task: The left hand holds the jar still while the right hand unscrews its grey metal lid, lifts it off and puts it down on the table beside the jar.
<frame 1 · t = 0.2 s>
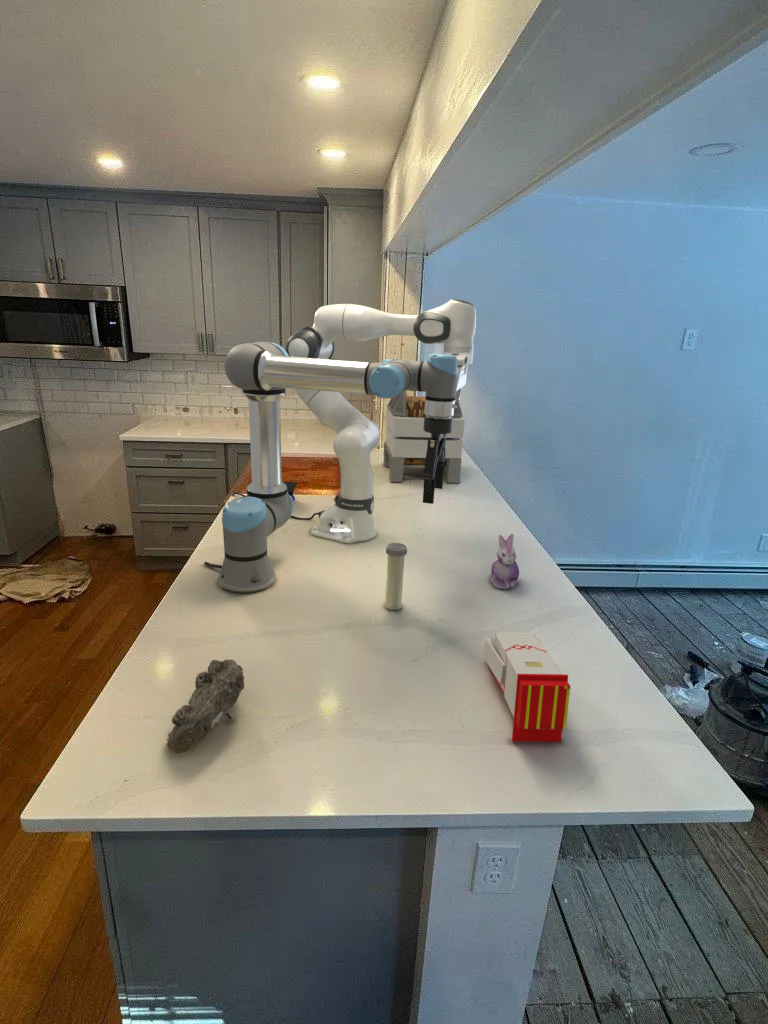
left hand: (432, 495, 152), 28 cm above the counter, tool pointing down, fingers open, 13 cm apart
right hand: (454, 403, 174), 48 cm above the counter, tool pointing down, fingers open, 8 cm apart
jar: (393, 606, 151), on the counter
fossil: (212, 717, 108), on the counter
figurine character: (286, 504, 224), on the counter
transformer: (419, 473, 275), on the counter
lid: (396, 548, 146), point 17 cm above the counter, screwed on, not yet turned
figurine: (504, 583, 167), on the counter
toy: (517, 695, 118), on the counter
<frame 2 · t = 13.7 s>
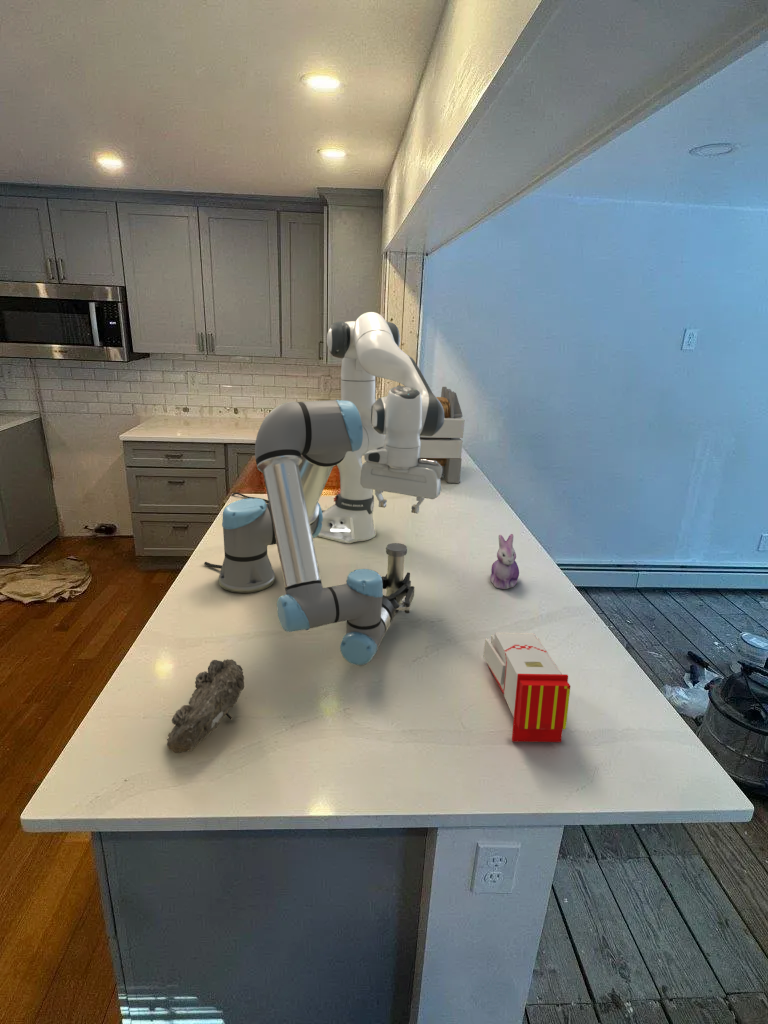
left hand: (399, 575, 154), 7 cm above the counter, tool horizontal, fingers closed on jar, 4 cm apart
right hand: (398, 509, 142), 27 cm above the counter, tool pointing down, fingers open, 7 cm apart
jar: (393, 606, 151), on the counter, touching left hand
everything else where it was.
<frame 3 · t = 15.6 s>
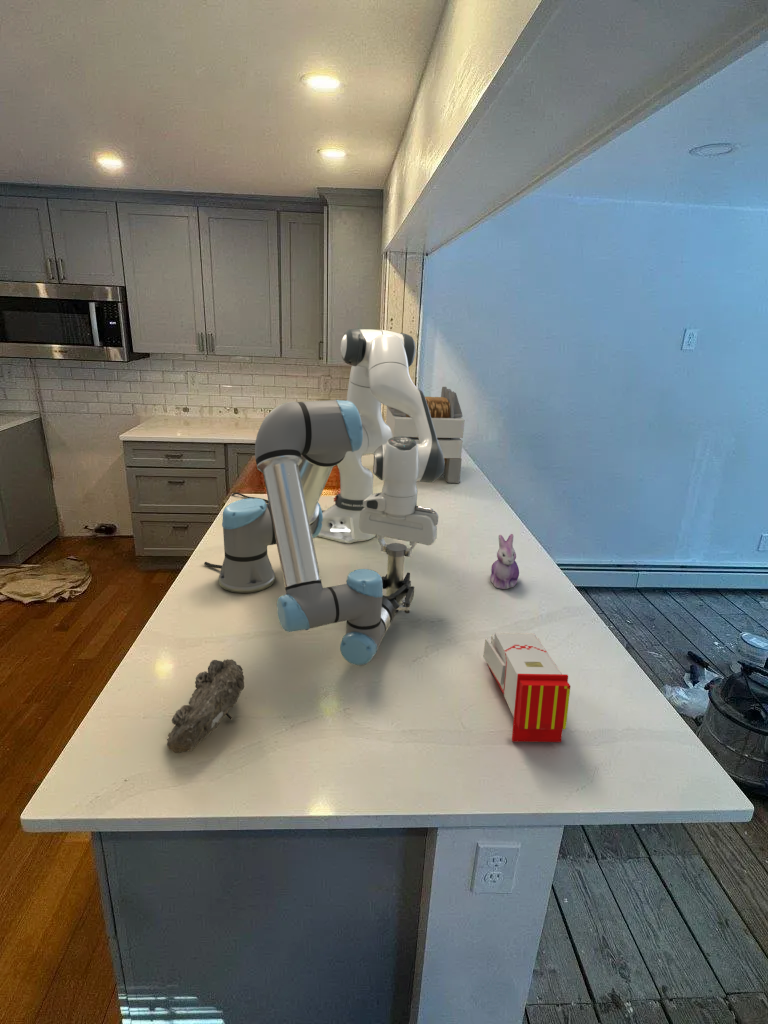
left hand: (399, 575, 154), 7 cm above the counter, tool horizontal, fingers closed on jar, 4 cm apart
right hand: (396, 553, 146), 15 cm above the counter, tool pointing down, fingers closed on lid, 5 cm apart
jar: (393, 606, 151), on the counter, touching left hand
lid: (396, 548, 145), point 17 cm above the counter, screwed on, not yet turned, touching right hand
everything else where it was.
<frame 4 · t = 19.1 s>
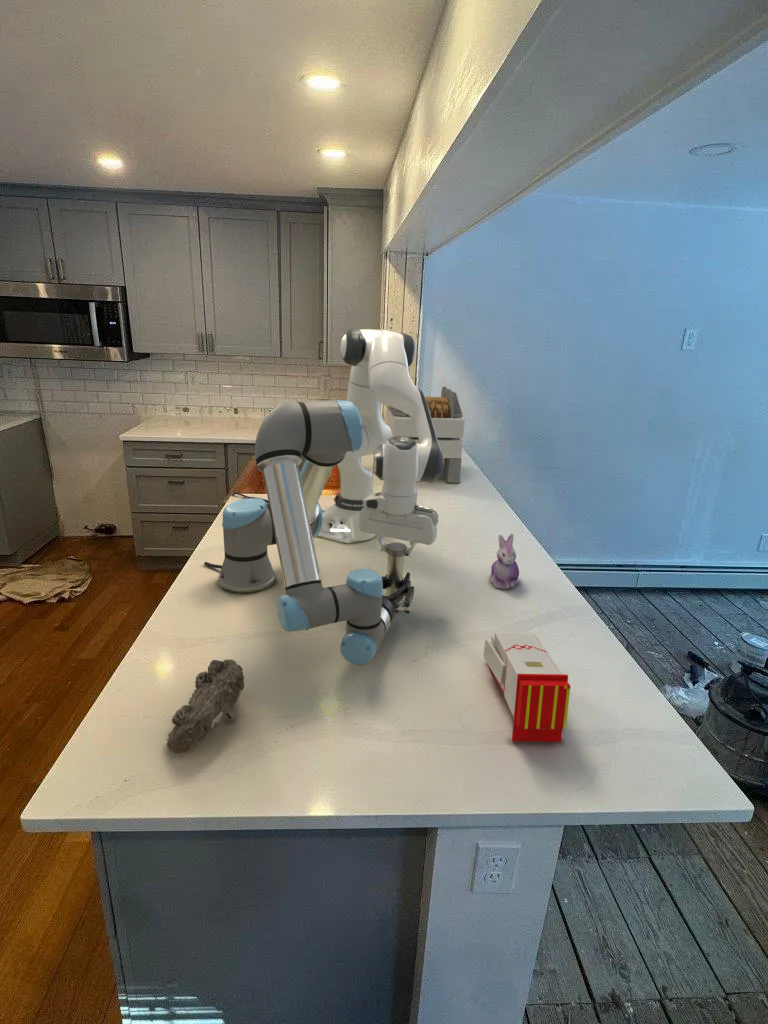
left hand: (399, 575, 154), 7 cm above the counter, tool horizontal, fingers closed on jar, 4 cm apart
right hand: (396, 553, 146), 15 cm above the counter, tool pointing down, fingers closed on lid, 5 cm apart
jar: (393, 606, 151), on the counter, touching left hand
lid: (396, 547, 145), point 17 cm above the counter, turned 92° so far, risen 0.1 cm, still on its thread, touching right hand
everything else where it was.
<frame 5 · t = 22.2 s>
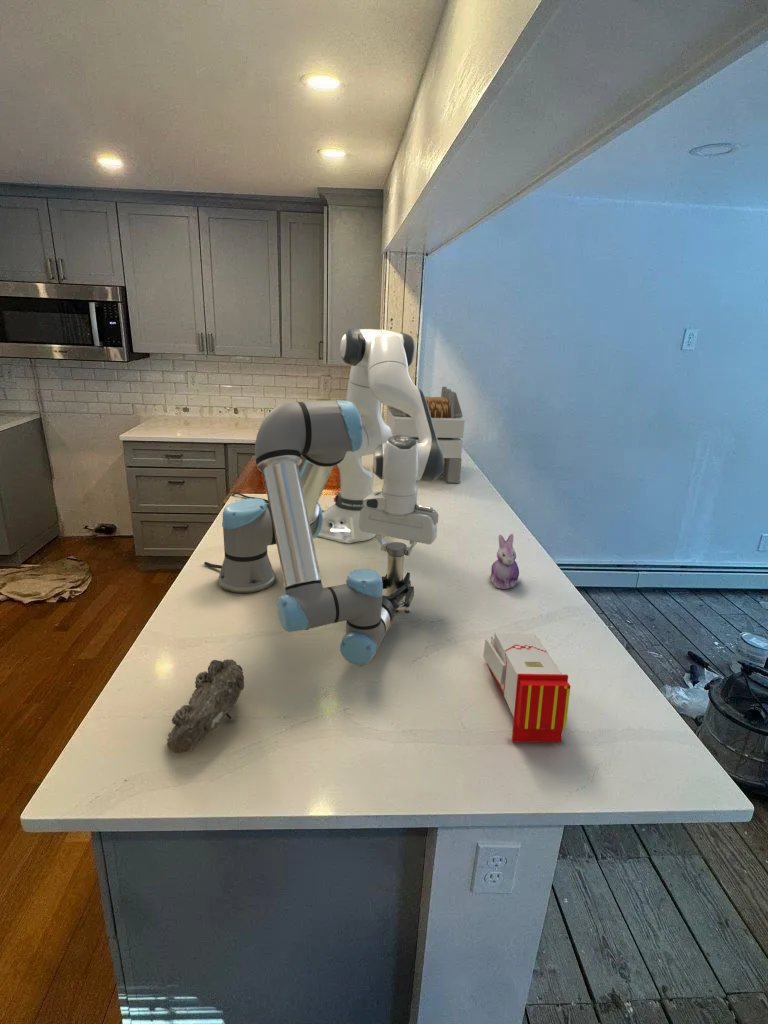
left hand: (399, 575, 154), 7 cm above the counter, tool horizontal, fingers closed on jar, 4 cm apart
right hand: (396, 552, 146), 16 cm above the counter, tool pointing down, fingers closed on lid, 5 cm apart
jar: (393, 606, 151), on the counter, touching left hand
lid: (396, 547, 145), point 17 cm above the counter, turned 184° so far, risen 0.3 cm, still on its thread, touching right hand
everything else where it was.
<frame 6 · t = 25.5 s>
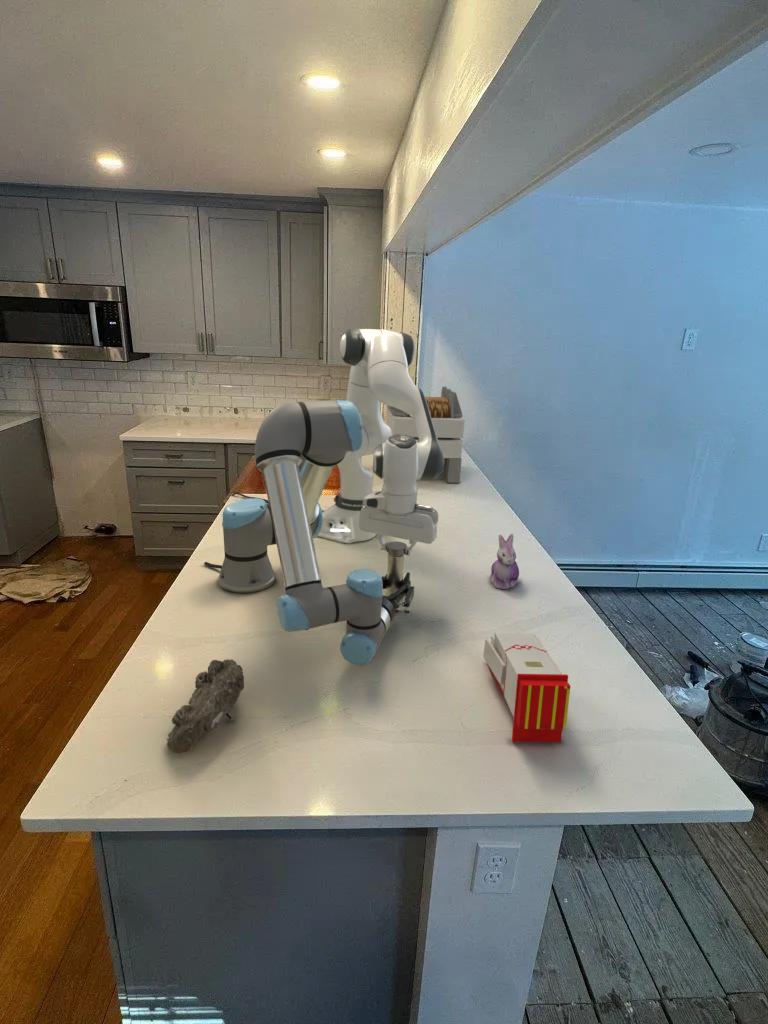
left hand: (399, 575, 154), 7 cm above the counter, tool horizontal, fingers closed on jar, 4 cm apart
right hand: (396, 552, 146), 16 cm above the counter, tool pointing down, fingers closed on lid, 5 cm apart
jar: (393, 606, 151), on the counter, touching left hand
lid: (396, 546, 145), point 17 cm above the counter, turned 277° so far, risen 0.4 cm, still on its thread, touching right hand
everything else where it was.
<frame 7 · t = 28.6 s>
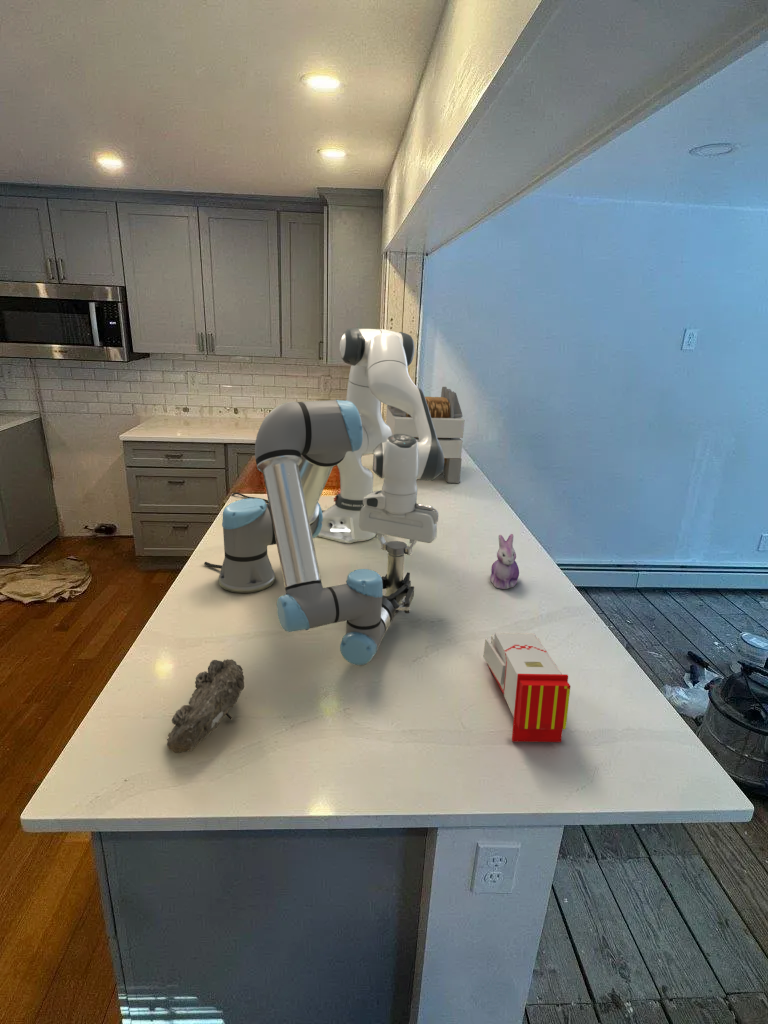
left hand: (399, 575, 154), 7 cm above the counter, tool horizontal, fingers closed on jar, 4 cm apart
right hand: (396, 551, 146), 16 cm above the counter, tool pointing down, fingers closed on lid, 5 cm apart
jar: (393, 606, 151), on the counter, touching left hand
lid: (396, 545, 145), point 18 cm above the counter, turned 369° so far, risen 0.6 cm, still on its thread, touching right hand
everything else where it was.
when the right hand's fingers open (2 cm above the counter, at t = 38.9 s): lid drops 2 cm, point 1 cm above the counter.
when the left hand's fingers open (7 cm above the counter, at t = 39.8 s): jar stays where it is, on the counter.
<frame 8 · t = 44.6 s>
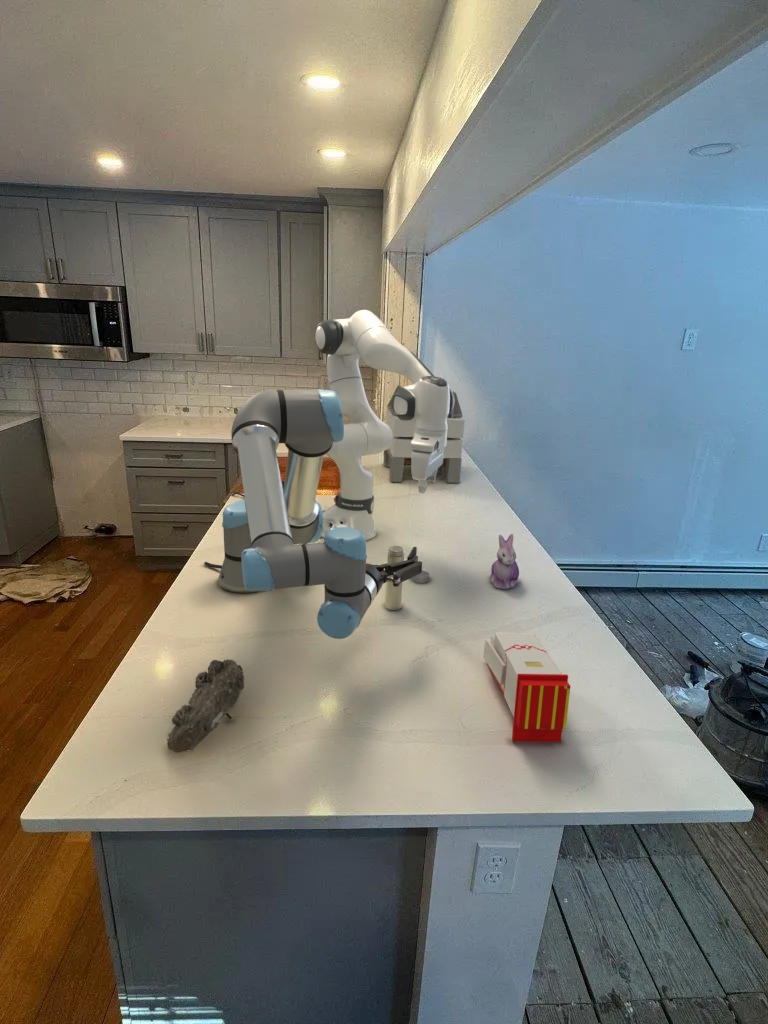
left hand: (387, 547, 135), 21 cm above the counter, tool horizontal, fingers open, 13 cm apart
right hand: (427, 487, 158), 28 cm above the counter, tool pointing down, fingers open, 8 cm apart
jar: (393, 606, 151), on the counter
lid: (420, 575, 167), point 1 cm above the counter, off its thread
everything else where it was.
at the end: lid came off its thread; lid point 1.3 cm above the counter; the left hand is holding nothing; the right hand is holding nothing; jar tilted 0°; jar moved 0.1 cm from its start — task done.
